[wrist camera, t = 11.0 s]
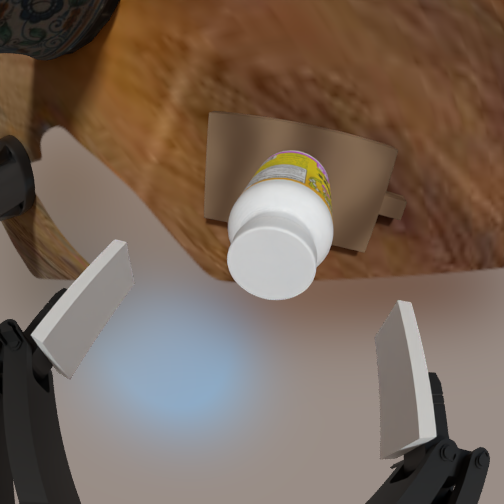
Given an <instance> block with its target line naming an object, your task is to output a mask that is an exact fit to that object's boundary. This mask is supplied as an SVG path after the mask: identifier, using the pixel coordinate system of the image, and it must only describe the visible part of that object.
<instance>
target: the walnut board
mask: <svg viewBox="0 0 504 504" xmlns="http://www.w3.org/2000/svg"><path fill="white" fill-rule="evenodd" d="M289 150H295V151H301V152H304V153H306V154H309V155H311V156H312V157H314V158H315V159H316V160H317V161H318V162H319V163H320V164H321V165H322V166H323V168H324V169H325V171H326V173H327V175H328V179H329V183H330V192H331V204H332V217H333V240H332V244H331V245H334V246H339V247H343V248H347V249H351V250H356V251H360V252H365V250H366V247H367V244H368V242H369V239H370V237H371V234H372V231H373V228H374V226H375V223H376V220H377V217H378V214H380V215H383V216H387V217H390V218H394V219H397V220H401V217H402V214H403V212H404V209H405V206H406V203H407V201H406V200H405V198H404V197H403V196H401V195H398V194H395V193H391V192H388V191H386V190H387V187H388V184H389V180H390V177H391V174H392V170H393V167H394V163H395V160H396V156H397V152H398V150H397V149H396V148H395V147H393V146H390V145H387V144H384V143H381V142H377V141H374V140H371V139H367V138H364V137H360V136H356V135H353V134H349V133H345V132H341V131H337V130H333V129H328V128H324V127H319V126H315V125H310V124H305V123H300V122H294V121H289V120H283V119H277V118H270V117H264V116H256V115H249V114H240V113H231V112H220V111H213V112H210V113H209V121H208V137H207V154H206V175H205V203H204V218H208V219H213V220H218V221H223V222H228V221H229V216H230V213H231V210H232V208H233V206H234V204H235V202H236V201H237V199H238V198H239V197H240V195H241V194H242V192H243V191H244V190H245V188H246V187H247V185H248V184H249V182H250V181H251V179H252V178H253V176H254V175H255V174H256V172H257V171H258V169H259V168H260V166H261V165H262V164H263V163H264V162H265V161H266V160H267V159H268V158H269V157H271V156H272V155H274V154H276V153H279V152H282V151H289Z"/></svg>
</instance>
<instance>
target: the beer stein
mask: <svg viewBox="0 0 504 504" xmlns="http://www.w3.org/2000/svg"><path fill="white" fill-rule="evenodd" d="M118 2H119V0H0V53H16V54H23V55H28V56H30V57H32V58H35V59H37V60H51V59H54V58H57V57H59V56H62V55H65V54H70V53H73V52H75V51H76V50H78V49H79V48H81V47H83V46H84V45H86V44H88V43H89V42H91V41H92V40H93V39H94V37H95V36H96V35H97V34H98V32H99V31H100V30H101V29H102V28H103V26H104V25H105V24H106V23H107V22H108V21H109V19H110V17H111V15H112V14H113V12H114V10H115V8H116V6H117V4H118Z"/></svg>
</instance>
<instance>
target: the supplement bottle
mask: <svg viewBox="0 0 504 504" xmlns="http://www.w3.org/2000/svg"><path fill="white" fill-rule="evenodd" d="M228 234H229V239H230V243H231V245H230V247H229V251H228V255H227V264H228V268H229V271H230V273H231V275H232V277H233V279H234V280H235V281H236V282H237V284H238V285H240V287H242V288H243V289H244V290H246V291H247V292H248V293H250V294H252V295H254V296H257V297H260V298H263V299H270V300H283V299H289V298H292V297H295V296H297V295H299V294H300V293H302V292H304V291H305V290H306V289H307V288H308V287H309V286H310V284H311V283H312V281H313V279H314V277H315V273H316V267H317V266H318V265H319V264H320V263H321V262H322V261H323V260H324V259H325V257H326V256H327V254H328V252H329V250H330V247H331V244H332V240H333V217H332V204H331V192H330V183H329V179H328V175H327V173H326V171H325V169H324V168H323V166H322V165H321V164H320V163H319V162H318V161H317V160H316V159H315V158H314V157H312V156H311V155H309V154H306V153H304V152H301V151H295V150H289V151H282V152H279V153H276V154H274V155H272V156H271V157H269V158H268V159H267V160H266V161H265V162H264V163H263V164H262V165H261V166H260V168H259V169H258V171H257V172H256V174H255V175H254V176H253V178H252V179H251V181H250V182H249V184H248V185H247V187H246V188H245V190H244V191H243V192H242V194H241V195H240V197H239V198H238V199H237V201H236V202H235V204H234V206H233V208H232V210H231V213H230V216H229V221H228Z"/></svg>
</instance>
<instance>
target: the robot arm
mask: <svg viewBox="0 0 504 504" xmlns="http://www.w3.org/2000/svg"><path fill="white" fill-rule="evenodd" d="M34 197H35V184H34V176H33V171H32V167H31V164H30V161H29V158H28V156H27V153H26V151H25V149H24V147H23V146H22V144H21V143H20V142H19V140H18V139H17V138H15V137H14V136H11V135H8V136H5V137H3V138H1V139H0V221H2V220H5V219H9V218H12V217H16V216H19V215H21V214H23V213H24V212H26V211H27V210H29V209H30V208H31V206H32V205H33V202H34ZM134 284H135V282H134V277H133V272H132V268H131V263H130V257H129V252H128V247H127V243H126V242H123V241H119V240H114V241H113V242H112V243H111V244H110V245H109V246H108V247H107V248H106V249H105V250H104V251H103V252H102V253H101V254H100V255H99V256H98V257H97V258H96V259H95V260H94V261H93V262H92V263H91V264H90V265H89V266H88V267H87V269H86V270H85V271H84V272H83V273H82V274H81V275H80V276H79V277H78V278H77V279H76V281H75V282H74V283H73V284H72V285H71V286H70V287H69V289H65V288H63V289H62V290H60V291H59V292H58V293H56V294H55V295H54V296H53V297H52V298H51V299H50V301H49V303H47V304H46V305H45V307H44V308H43V309H42V310H41V311H40V312H39V314H38V315H37V316H36V317H35V319H34V320H33V321H32V322H31V324H30V325H29V326H28V327H27V329H26V330H25V331H24V332H22V330H21V328H20V327H19V325H18V324H17V322H16V321H15V320H13V319H7V320H5V321H4V322H2V323H1V324H0V504H15V499H14V488H13V481H14V485H15V488H16V492H17V496H18V499H19V504H81V502H80V499H79V497H78V494H77V491H76V488H75V485H74V482H73V479H72V475H71V472H70V469H69V465H68V461H67V458H66V454H65V450H64V445H63V441H62V437H61V432H60V426H59V421H58V415H57V409H56V402H55V394H54V387H53V386H54V385H53V375H52V371H51V368H52V366H54V368H55V369H56V370H57V371H58V372H59V373H60V374H62V375H63V376H65V377H67V378H68V379H71V377H72V376H73V374H74V373H75V371H76V369H77V368H78V366H79V365H80V363H81V361H82V360H83V358H84V357H85V355H86V353H87V352H88V350H89V349H90V347H91V346H92V344H93V342H94V341H95V340H96V338H97V337H98V335H99V334H100V332H101V331H102V329H103V328H104V326H105V325H106V323H107V322H108V320H109V319H110V318H111V316H112V315H113V313H114V312H115V310H116V309H117V308H118V306H119V305H120V303H121V302H122V301H123V299H124V298H125V297H126V295H127V294H128V292H129V291H130V290H131V288H132V287H133V286H134ZM375 344H376V354H377V365H378V377H379V394H380V421H381V422H380V427H381V441H380V442H381V443H380V459H394V458H398V457H400V456H402V455H404V460H402V461H400V462H398V463H396V464H394V465H393V466H392V467H390V468H392V469H393V468H395V467H397V468H396V469H395V470H394V471H393V473H392V474H391V475H390V476H389V478H388V479H387V480H386V481H385V482H384V484H383V485H382V486H381V487H380V488H379V490H377V492H376V493H375V494H374V495H373V496H372V497H371V498H370V499H369V500H368V501H367V502H366V503H365V504H477V503H478V501H479V498H480V494H481V492H482V489H483V485H484V482H485V478H486V475H487V471H488V467H489V462H490V457H489V453H488V451H487V450H486V449H485V448H482V447H480V448H477V449H475V450H474V451H472V452H471V451H467V450H463V449H459V448H458V447H457V445H456V443H455V442H454V441H453V440H451V439H449V435H448V427H447V419H446V411H445V405H444V398H443V396H442V394H443V392H442V387H441V382H440V380H439V379H438V377H437V375H436V373H430V372H428V371H427V365H426V360H425V356H424V351H423V347H422V342H421V338H420V334H419V330H418V326H417V322H416V318H415V315H414V311H413V307H412V304H411V303H410V302H405V301H400V300H397V302H396V304H395V306H394V307H393V309H392V311H391V312H390V314H389V316H388V317H387V319H386V320H385V322H384V324H383V325H382V327H381V328H380V330H379V331H378V333H377V335H376V336H375ZM454 486H455V487H454ZM453 488H454V490H453Z"/></svg>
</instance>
